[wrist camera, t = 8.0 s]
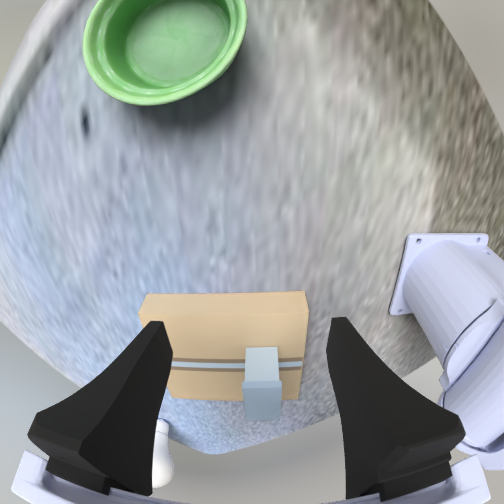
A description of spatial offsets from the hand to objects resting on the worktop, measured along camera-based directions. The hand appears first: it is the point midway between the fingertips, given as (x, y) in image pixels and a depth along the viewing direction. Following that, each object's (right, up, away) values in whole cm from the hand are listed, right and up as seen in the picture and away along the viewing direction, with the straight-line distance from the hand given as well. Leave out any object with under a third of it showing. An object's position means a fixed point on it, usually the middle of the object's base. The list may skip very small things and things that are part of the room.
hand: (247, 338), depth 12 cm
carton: (-2, -5, +14) cm, 15 cm away
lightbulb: (-13, -20, +23) cm, 33 cm away
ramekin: (-4, +17, +2) cm, 18 cm away
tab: (+1, -6, +12) cm, 13 cm away
